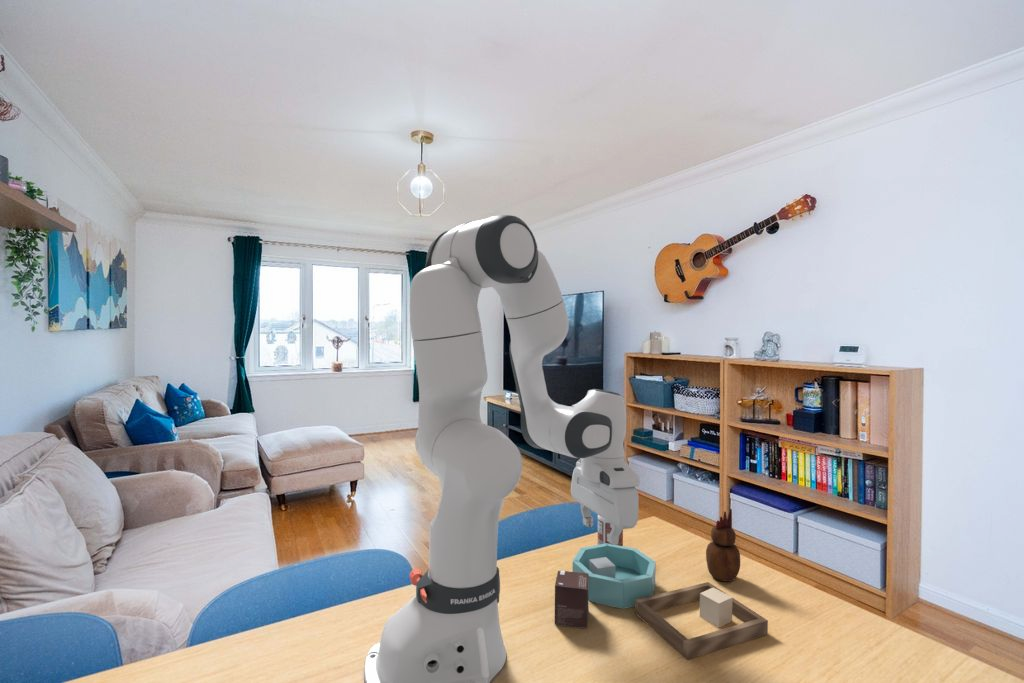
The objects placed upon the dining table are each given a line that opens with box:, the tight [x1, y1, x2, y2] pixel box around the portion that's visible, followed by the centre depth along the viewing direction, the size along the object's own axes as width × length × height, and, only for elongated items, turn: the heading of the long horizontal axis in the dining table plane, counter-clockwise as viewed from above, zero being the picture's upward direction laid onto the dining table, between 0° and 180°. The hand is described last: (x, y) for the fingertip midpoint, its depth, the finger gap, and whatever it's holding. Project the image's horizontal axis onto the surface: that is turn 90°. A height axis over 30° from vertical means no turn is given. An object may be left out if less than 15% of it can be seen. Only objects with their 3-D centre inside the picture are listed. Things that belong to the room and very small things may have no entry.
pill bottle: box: [597, 514, 624, 546], centre depth 118 cm, size 6×6×11 cm
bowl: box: [572, 543, 657, 610], centre depth 101 cm, size 16×16×5 cm
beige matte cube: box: [699, 588, 733, 628], centre depth 89 cm, size 4×4×4 cm
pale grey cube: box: [589, 557, 615, 578], centre depth 100 cm, size 4×4×4 cm
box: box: [554, 570, 589, 629], centre depth 89 cm, size 6×6×7 cm
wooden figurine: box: [705, 508, 741, 582], centre depth 104 cm, size 7×6×15 cm
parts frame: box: [634, 581, 769, 661], centre depth 88 cm, size 18×14×2 cm
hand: (599, 534), depth 99 cm, fingers open, 8 cm apart
